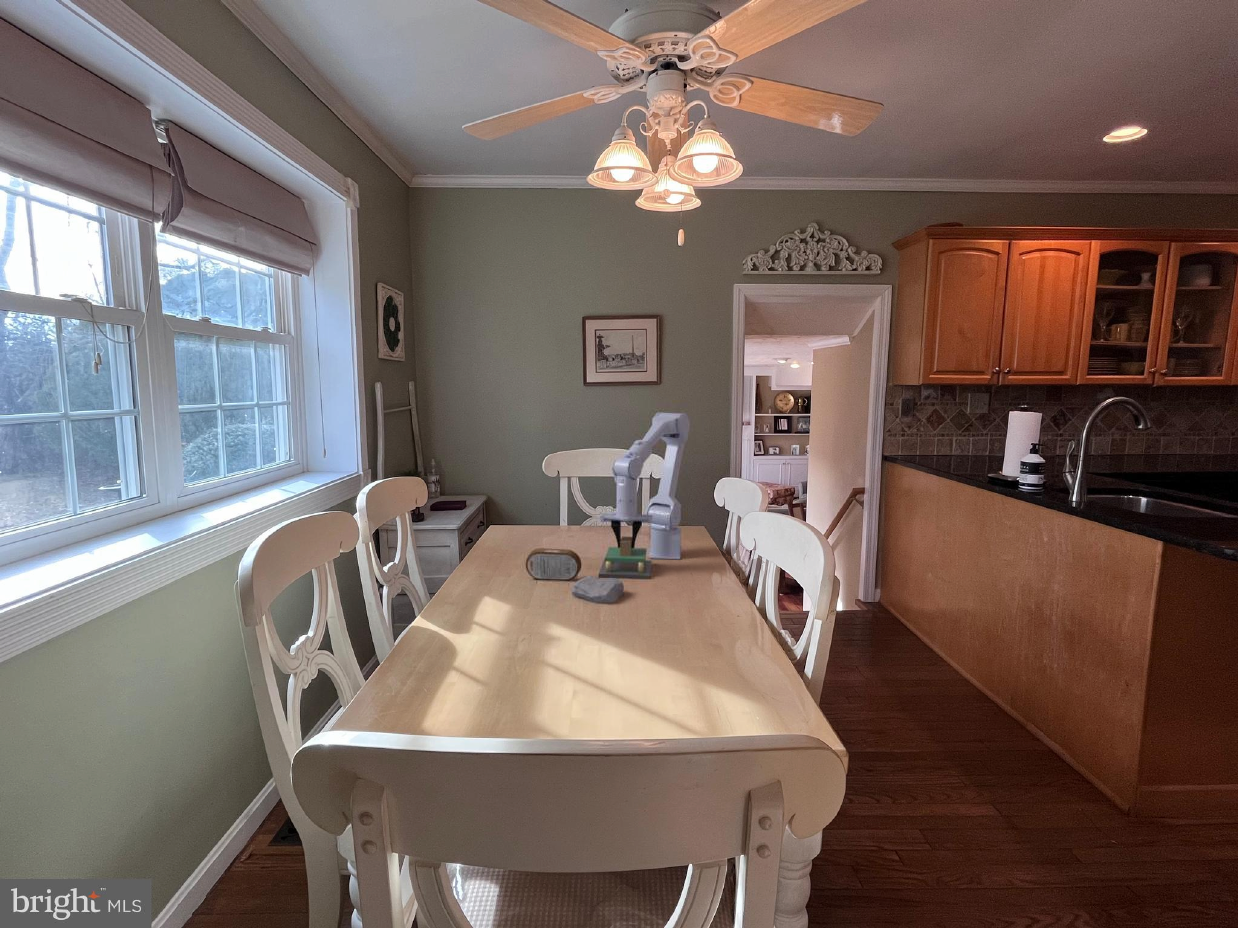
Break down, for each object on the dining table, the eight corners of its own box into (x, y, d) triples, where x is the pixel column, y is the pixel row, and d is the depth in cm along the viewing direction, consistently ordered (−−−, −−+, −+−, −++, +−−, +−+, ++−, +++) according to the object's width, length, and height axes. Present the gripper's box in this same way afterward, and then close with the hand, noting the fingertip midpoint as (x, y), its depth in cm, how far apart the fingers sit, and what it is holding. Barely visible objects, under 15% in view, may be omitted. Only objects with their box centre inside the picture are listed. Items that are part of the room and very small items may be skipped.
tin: (581, 578, 166) (581, 548, 165) (579, 582, 163) (579, 552, 162) (527, 576, 168) (527, 546, 167) (524, 580, 165) (524, 550, 164)
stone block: (610, 612, 147) (627, 592, 156) (608, 595, 146) (624, 575, 154) (567, 606, 152) (585, 587, 161) (564, 589, 151) (583, 570, 159)
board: (646, 551, 179) (646, 534, 178) (644, 562, 168) (645, 544, 167) (609, 550, 180) (609, 533, 179) (604, 561, 169) (605, 543, 168)
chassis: (651, 563, 180) (651, 550, 180) (649, 579, 166) (649, 564, 166) (604, 562, 181) (604, 549, 181) (598, 577, 168) (598, 563, 167)
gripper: (599, 502, 168) (599, 550, 170) (652, 503, 166) (651, 551, 168) (602, 497, 175) (602, 543, 177) (653, 498, 173) (652, 544, 175)
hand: (626, 547), depth 173 cm, fingers open, 3 cm apart
